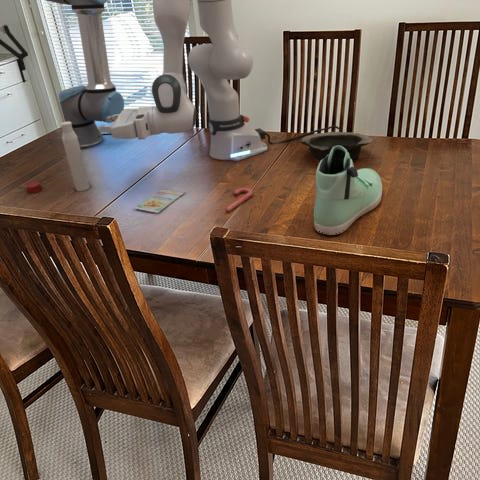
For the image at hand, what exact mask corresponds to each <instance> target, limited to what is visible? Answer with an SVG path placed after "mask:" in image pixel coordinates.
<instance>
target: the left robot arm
mask: <svg viewBox="0 0 480 480" xmlns="http://www.w3.org/2000/svg"><path fill="white" fill-rule="evenodd" d="M108 1H109V0H45V2H51V3H56V4H60V5H66V6H70V7H71V11H72V12H73V13H74V14H75V15H76V17H77V22H78V28H79V35H80V41H81V47H82V48H81V49H82V53H83V54H82V55H83V59H84V66H85V73H86V77H87V84H86V85H77V86H73V87H69V88H66V89H63V90H61V91H60V92H59V93H58V100H59V105H60V108H61V113H62V116H63V119H64V122H68V121H69V122H71V124H72V128H73V131H74V132H75V134H76V135H77V138H78V142H79V146H80V149H81V150H85V149H92V148H94V147H97V146H99V145H102V143H104V136H112V133H107V132H106V133H102V132H100V131H99V127H98V125H97V124H96V122H103V123H107V122H106V118H107V116H113V115H117V114H120V113H121V112H122V110H124V109H125V101H124V96H123V95H122V94H121V93H120V92H119V91H117V88H116V85H115V83H113V82H112V80H111V74H110V66H109V59H108V52H107V45H106V38H105V32H104V25H103V23H104V22H103V18H102V17H103V16H102V14H103V12H104V11H105V10H106V8H105V4H106V3H107V2H108ZM0 32H2V33H3V34H6V35H7V37H8V38H9V39H10V41H11V42H12V43H13V44H14V45H15V47H17V49H18V50H19V51H20V52H21V53H19V52H18V51H17V50H15V48H13V47H12V46H10V45H9V44H8V43H7V42H6V41H4V40H3V39H2V38H0V46H1V47H2V48H4V49H5V50H6V51H8V52H9V53H10V54H12V55H13V56H14V57H16V59H15V60H16V64H17V67H18V70H19V73H20V78H21V81H22V83H26V82H27V81H26V79H25V75H24V72H23V71H26V70H27V68H26V65H25V64H26V63H25V60H24V59H25V58H27V57H28V56H29V53H28V51H27V50H26V49H25V48H24V46H23V45H22V44H21V43H20V42H19V41H18V39H17V38H16V37H15V35H13V33H12V32H11V31H10V28H9V26H8V25H7V24H6V23H5V24H3V25H0Z"/></svg>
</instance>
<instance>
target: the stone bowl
mask: <svg viewBox="0 0 480 480" xmlns="http://www.w3.org/2000/svg"><path fill="white" fill-rule="evenodd" d="M372 142H374V139H373V138H371V137H370V136H368V135H366V134H363V133H359V132H349V131H328V132H316V133H312V134H309V135H305V136H302V137H301V141H300V144H303V145H304V146H307V147H309V152H310V155H311V156H312V158H313V159H315V160H317V161H318V164H319V163H320V161H321V160H322V159H324V158H325V157H326V156H327V155H329V154H330V152H331V149H332V148H333V147H334V146H342V147H344V148H345V149H346V150H347V152H348V153H349V156H350V159H352V161H353V162H357V161H359V159H360V157H361V152H362V147H364V146H367V145H369V144H372Z"/></svg>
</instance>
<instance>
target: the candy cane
mask: <svg viewBox="0 0 480 480" xmlns="http://www.w3.org/2000/svg"><path fill="white" fill-rule="evenodd" d="M242 193H246V194H244V195H243V196H242V197H240V198H238V199H237V200H235V201H234V202H233V203H231V204H230V205H228V206H227V207H226V208H225V209H224V210H225V212H226V213H230V212H231V211H232V210H234V209H236V208H237V207H238V206H240V205H241V204H242V203H244V202H245V201H246V200H248V199H249V198H251V197H252V196H253V195H254V193H253V190H252V189H251V188H248V187H239V188H237V189H234V191H233V195H234V196H238V195H239V194H242Z"/></svg>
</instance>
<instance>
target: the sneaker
mask: <svg viewBox="0 0 480 480" xmlns="http://www.w3.org/2000/svg"><path fill="white" fill-rule="evenodd" d="M317 165H318V166H317V168H316V172H315V201H314V207H313V225H314V229H315V231H316V232H318V233H320V234H323V235H326V236H327V235H328V236H336V235H339V234H342V233H344V232H345V231H347V230H348V229H349V228H350V227H351V226H352V225H353V224H354V222H356V221H357V220H358V219H359V218H360V217H362V216H363V215H365V214H367V213H370V212H372V210H374V209H375V208H377V207H378V205H380V203H381V200H382V196H383V184H382V183H383V182H382V179H381V176H380V175H379V173H378V172H377V171H376V170H374V169H372V168H367V167H365V168H358V169H357V168H355V167H354V161H352V159H350V156H349V153H348V152H347V150H346V149H345V148H344V147H342V146H334V147H333V148H332V149H331V152H330V154H329V155H327V156H326V157H325V158H324V159H322V160H321V161H320V163H319V162H318V164H317ZM343 230H344V231H343ZM319 231H320V232H319ZM322 232H323V233H322ZM339 232H340V233H339ZM326 233H327V234H326ZM328 233H329V234H328ZM335 233H337V234H335Z"/></svg>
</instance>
